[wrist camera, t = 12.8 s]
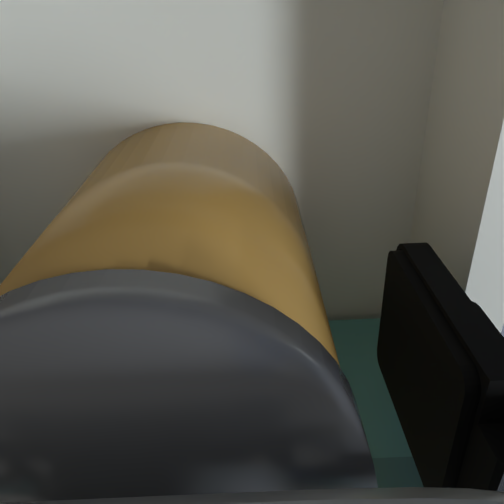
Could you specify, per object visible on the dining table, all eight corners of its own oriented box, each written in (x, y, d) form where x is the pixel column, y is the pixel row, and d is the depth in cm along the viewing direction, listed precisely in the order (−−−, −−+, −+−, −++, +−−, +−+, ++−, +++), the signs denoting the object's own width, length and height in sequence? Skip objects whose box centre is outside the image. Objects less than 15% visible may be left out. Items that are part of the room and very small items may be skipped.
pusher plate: (382, 349, 15) (450, 528, 10) (33, 364, 15) (-68, 549, 10) (386, 316, 14) (461, 490, 9) (22, 332, 14) (-93, 513, 9)
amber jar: (303, 316, 14) (359, 622, 8) (102, 325, 15) (-26, 638, 8) (306, 112, 11) (406, 308, 4) (52, 124, 11) (-242, 338, 4)
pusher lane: (411, 366, 17) (527, 627, 10) (17, 383, 17) (-137, 655, 10) (508, -205, 9) (1237, -725, 2) (-200, -171, 9) (-1392, -590, 3)
